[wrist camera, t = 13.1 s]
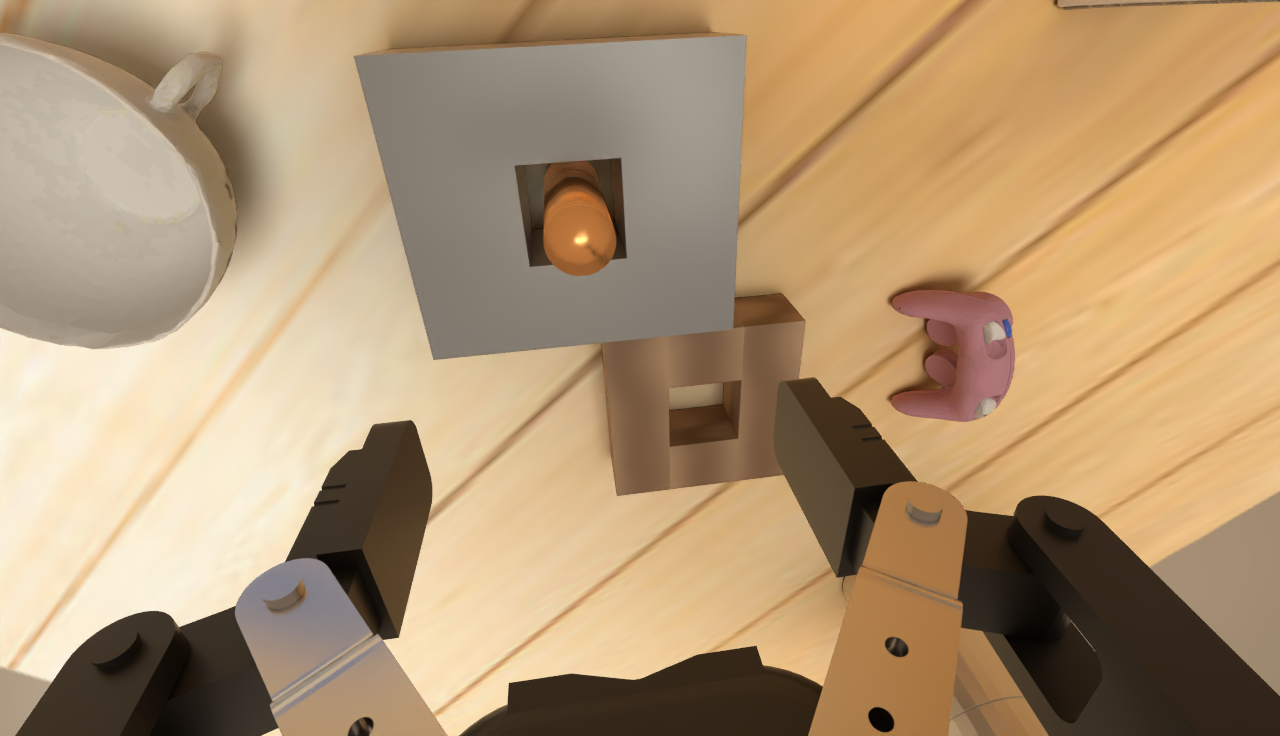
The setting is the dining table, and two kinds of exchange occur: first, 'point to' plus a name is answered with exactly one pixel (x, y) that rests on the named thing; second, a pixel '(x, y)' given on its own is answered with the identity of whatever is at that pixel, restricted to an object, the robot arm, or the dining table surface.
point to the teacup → (107, 197)
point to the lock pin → (576, 219)
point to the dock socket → (550, 133)
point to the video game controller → (961, 354)
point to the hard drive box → (1141, 3)
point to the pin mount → (705, 436)
